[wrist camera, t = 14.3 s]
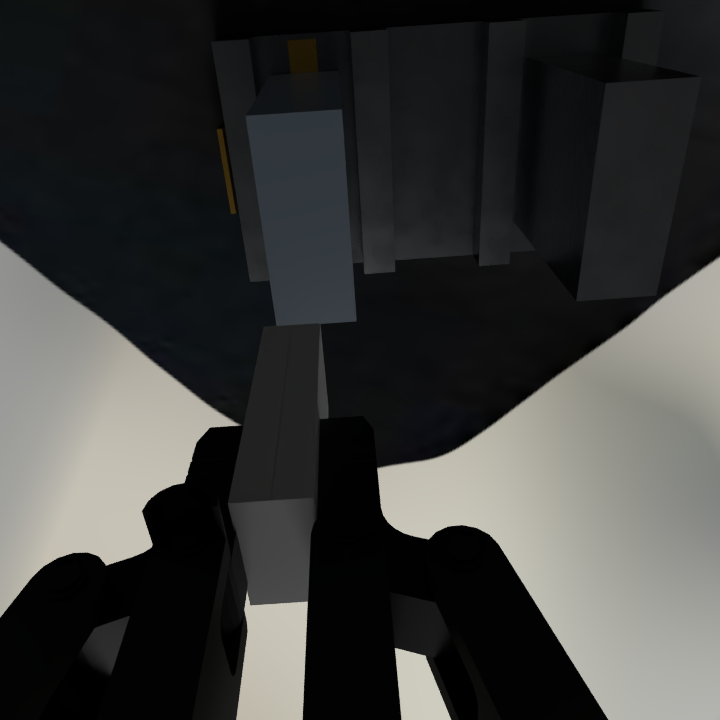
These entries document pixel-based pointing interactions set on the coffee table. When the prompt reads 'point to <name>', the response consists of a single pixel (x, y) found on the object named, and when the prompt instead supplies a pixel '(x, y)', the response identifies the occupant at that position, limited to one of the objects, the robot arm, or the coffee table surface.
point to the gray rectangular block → (303, 196)
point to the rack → (488, 141)
